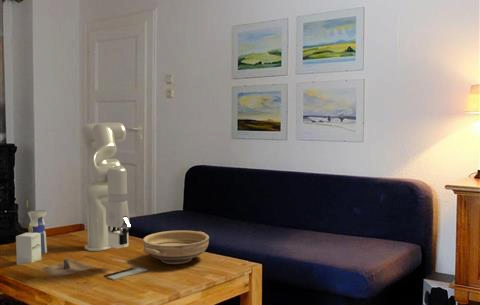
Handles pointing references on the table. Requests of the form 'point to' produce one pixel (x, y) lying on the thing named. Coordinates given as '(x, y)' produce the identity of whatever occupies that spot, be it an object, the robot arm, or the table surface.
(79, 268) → the tan square base plate
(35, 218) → the spray bottle
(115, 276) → the gray square plate
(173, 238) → the ceramic bowl
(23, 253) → the supplement box
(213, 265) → the table surface
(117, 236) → the cream cube
